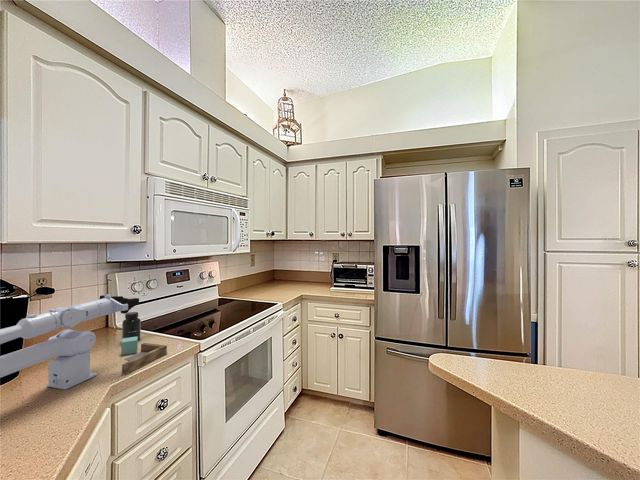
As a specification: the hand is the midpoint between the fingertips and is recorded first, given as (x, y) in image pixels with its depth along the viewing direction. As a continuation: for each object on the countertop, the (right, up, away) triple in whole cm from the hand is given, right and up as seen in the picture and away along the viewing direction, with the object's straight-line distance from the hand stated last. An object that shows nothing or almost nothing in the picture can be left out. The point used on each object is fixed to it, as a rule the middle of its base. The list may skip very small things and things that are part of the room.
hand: (130, 299), depth 108 cm
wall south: (+10, -21, -7) cm, 25 cm away
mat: (+5, -21, -2) cm, 22 cm away
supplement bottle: (-10, -21, +16) cm, 29 cm away
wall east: (+7, -21, +3) cm, 23 cm away
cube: (-3, -21, +4) cm, 22 cm away
